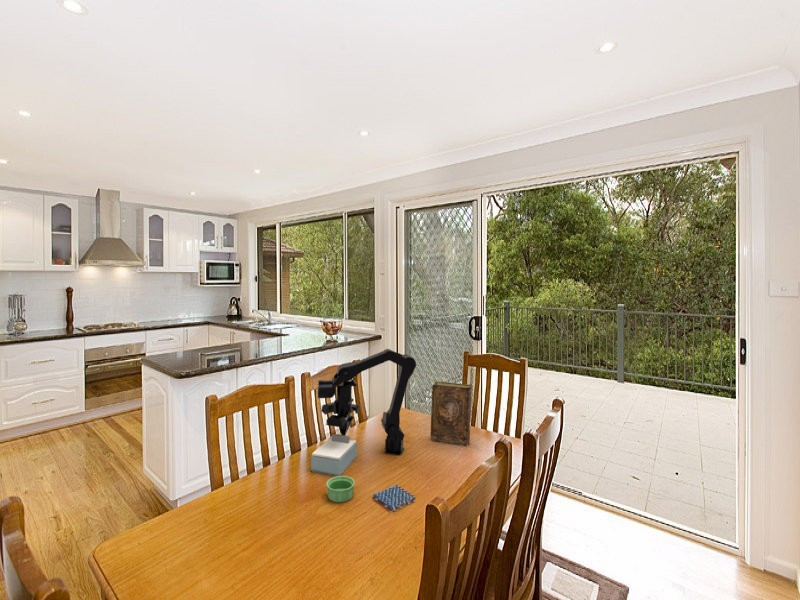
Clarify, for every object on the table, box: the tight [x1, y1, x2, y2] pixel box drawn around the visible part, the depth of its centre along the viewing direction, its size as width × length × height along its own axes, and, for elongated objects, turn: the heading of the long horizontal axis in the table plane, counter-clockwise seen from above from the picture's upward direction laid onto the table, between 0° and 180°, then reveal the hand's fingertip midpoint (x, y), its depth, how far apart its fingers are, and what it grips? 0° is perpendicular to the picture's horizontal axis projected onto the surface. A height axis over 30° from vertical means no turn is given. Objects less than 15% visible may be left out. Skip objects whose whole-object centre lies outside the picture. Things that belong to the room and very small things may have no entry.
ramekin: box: [326, 475, 355, 503], centre depth 129 cm, size 9×9×4 cm
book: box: [430, 381, 472, 447], centre depth 173 cm, size 16×6×25 cm, turn 73°
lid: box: [311, 433, 357, 460], centre depth 150 cm, size 16×11×3 cm
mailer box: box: [310, 442, 358, 477], centre depth 150 cm, size 16×11×6 cm
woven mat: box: [371, 484, 416, 514], centre depth 127 cm, size 10×11×2 cm
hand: (343, 436), depth 157 cm, fingers closed
